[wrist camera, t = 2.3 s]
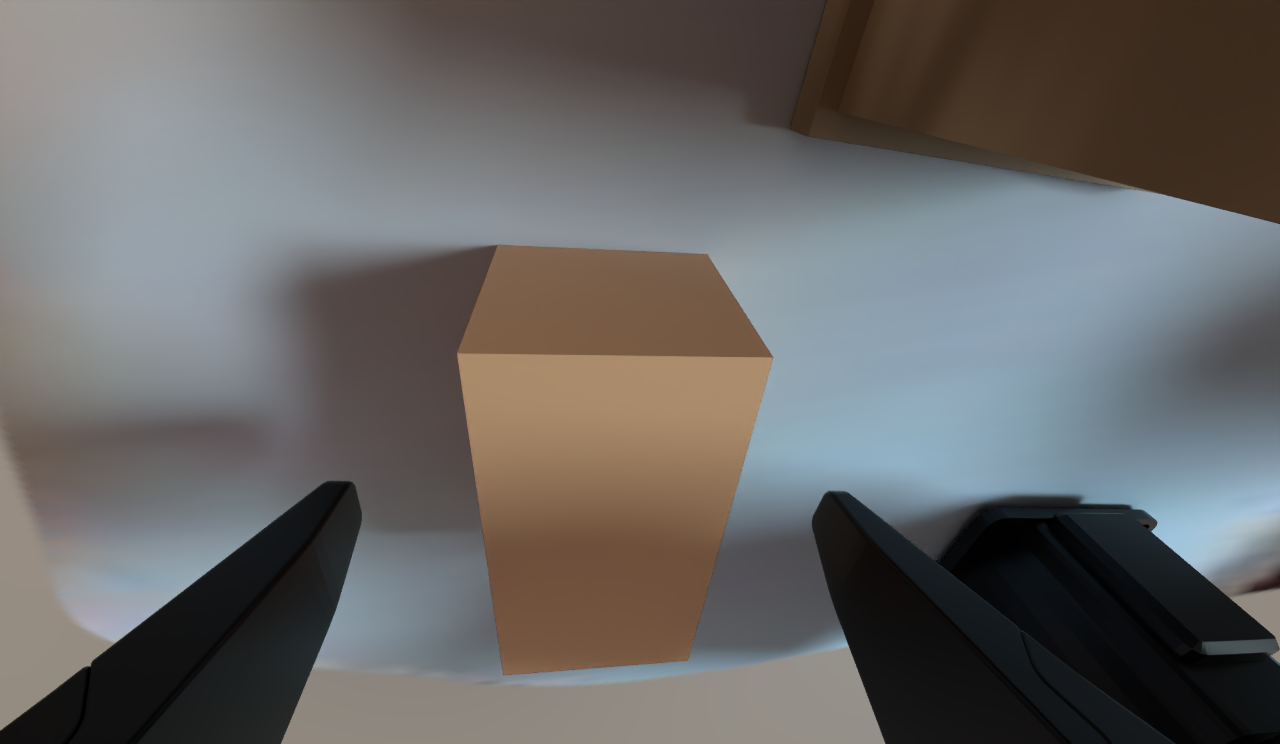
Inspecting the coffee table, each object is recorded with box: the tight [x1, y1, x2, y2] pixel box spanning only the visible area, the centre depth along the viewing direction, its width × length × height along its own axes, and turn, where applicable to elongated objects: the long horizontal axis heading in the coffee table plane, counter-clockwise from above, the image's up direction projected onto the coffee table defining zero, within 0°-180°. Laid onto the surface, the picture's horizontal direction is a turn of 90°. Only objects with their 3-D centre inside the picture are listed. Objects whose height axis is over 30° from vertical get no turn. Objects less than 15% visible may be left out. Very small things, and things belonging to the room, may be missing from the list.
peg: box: [457, 245, 773, 675], centre depth 10 cm, size 8×4×4 cm, turn 175°
